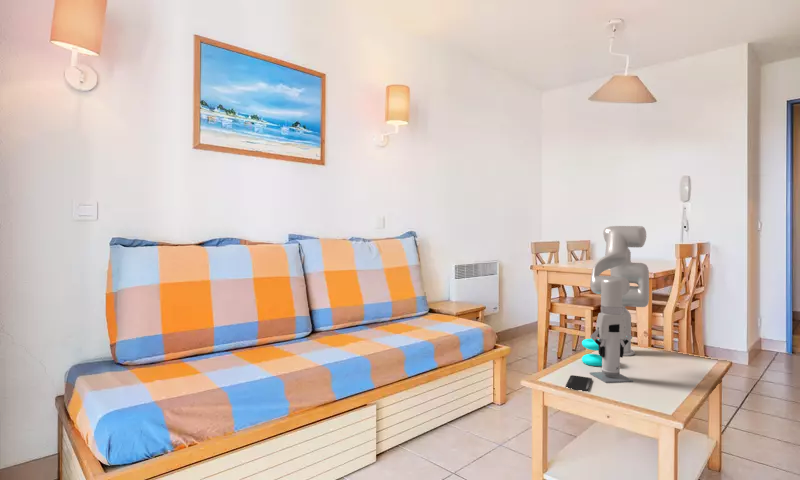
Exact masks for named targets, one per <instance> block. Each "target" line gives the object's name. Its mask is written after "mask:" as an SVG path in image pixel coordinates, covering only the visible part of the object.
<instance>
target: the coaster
mask: <svg viewBox="0 0 800 480" xmlns="http://www.w3.org/2000/svg"><path fill="white" fill-rule="evenodd" d="M589 375H590V376H593V377H595V378H597V379H598V380H599V381H602V382H603V383H606V384H608V383H609V384H610V383H611V384H613V383H615V384H616V383H631V382H632V383H633V382H634V380H633V379H632V378H630V377H627V376H626V375H624V374H621V373H620V374H619V375H617V376H612V375H606V374H604V373H602V371H597V372H596V371H595V372H594V371H593V372H592V371H591V372H589Z"/></svg>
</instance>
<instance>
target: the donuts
mask: <svg viewBox="0 0 800 480" xmlns="http://www.w3.org/2000/svg"><path fill="white" fill-rule="evenodd" d="M599 339H600V338H597V340H599ZM581 345H582V347H583V348H585V349H587V350H590V351H598V352H599V345H597V343H596V342H595V341H594V340H593V339H592V338H585V339H583V340H582V341H581ZM581 361H582V363H583V364H585V365H586V366H591V367H592V366H593V367H602V357H601V356H600V354H599V353H598V354H597V353H587V354H584V355H582V356H581Z"/></svg>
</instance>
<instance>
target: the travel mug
mask: <svg viewBox="0 0 800 480" xmlns="http://www.w3.org/2000/svg"><path fill="white" fill-rule="evenodd" d="M619 329H620V324H618V325H609V331H608V333H609V334H608V337H607V340H605V343H604V345H603V347H604V348H605V357H602V366H601V372H602V373H604V374H606V375H612V376H617V375H619V374H621V372H620V365H621V357H620V334H619V333H620V331H619Z"/></svg>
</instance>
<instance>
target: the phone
mask: <svg viewBox="0 0 800 480" xmlns="http://www.w3.org/2000/svg"><path fill="white" fill-rule="evenodd" d="M592 382H593V378H592V377H586V376H581V375H572V374H571V375H570V376H569V378H568V380H567V382H566V384H565V388H566V387H568V388H572V389H575V390H576V391H578V390H582V391H581V392H584V391H588V392H589V391H590V388H591V385H592Z"/></svg>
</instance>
